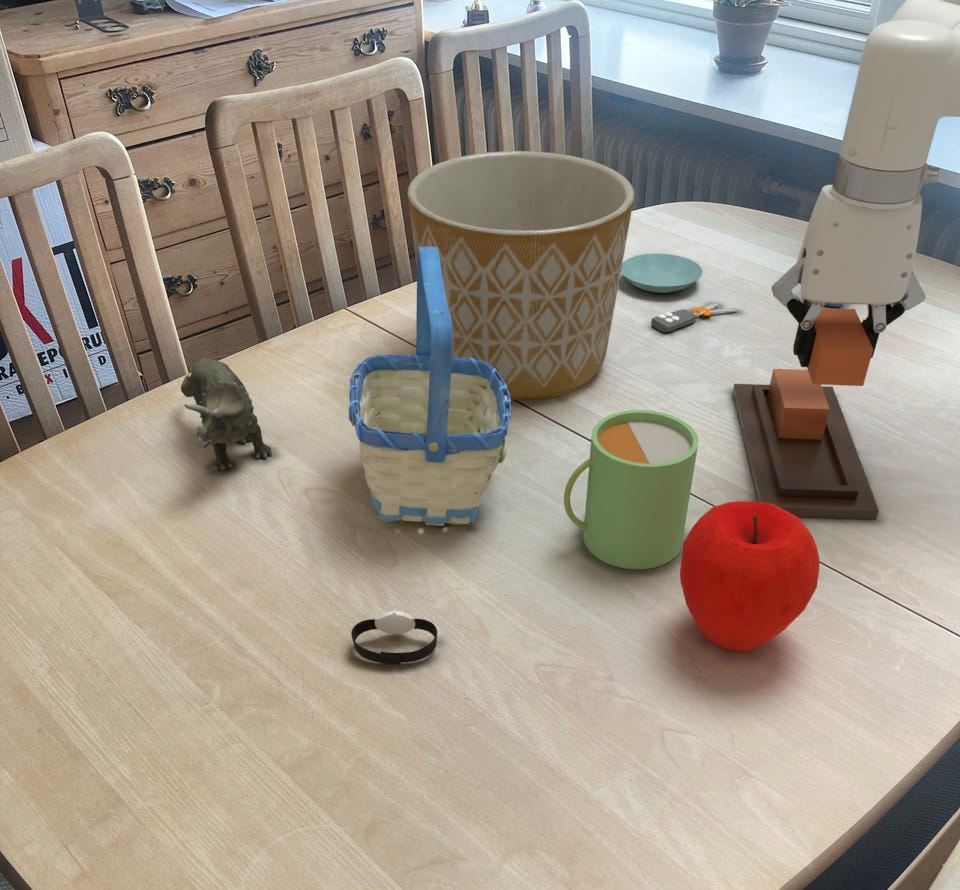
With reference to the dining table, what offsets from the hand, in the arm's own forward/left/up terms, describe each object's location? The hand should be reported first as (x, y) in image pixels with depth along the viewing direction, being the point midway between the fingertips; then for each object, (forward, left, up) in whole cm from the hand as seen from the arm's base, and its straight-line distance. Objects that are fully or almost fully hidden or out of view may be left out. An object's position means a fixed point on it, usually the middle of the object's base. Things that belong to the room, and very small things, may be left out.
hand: (830, 360), depth 107 cm
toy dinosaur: (+65, -1, -14) cm, 66 cm away
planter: (+33, -23, -14) cm, 42 cm away
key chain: (+9, -37, -14) cm, 41 cm away
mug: (+21, +14, -14) cm, 29 cm away
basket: (+41, +6, -14) cm, 43 cm away
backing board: (0, -4, -14) cm, 14 cm away
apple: (+11, +28, -14) cm, 33 cm away
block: (0, 0, 0) cm, 0 cm away
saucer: (+13, -48, -14) cm, 52 cm away
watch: (+42, +32, -14) cm, 54 cm away
